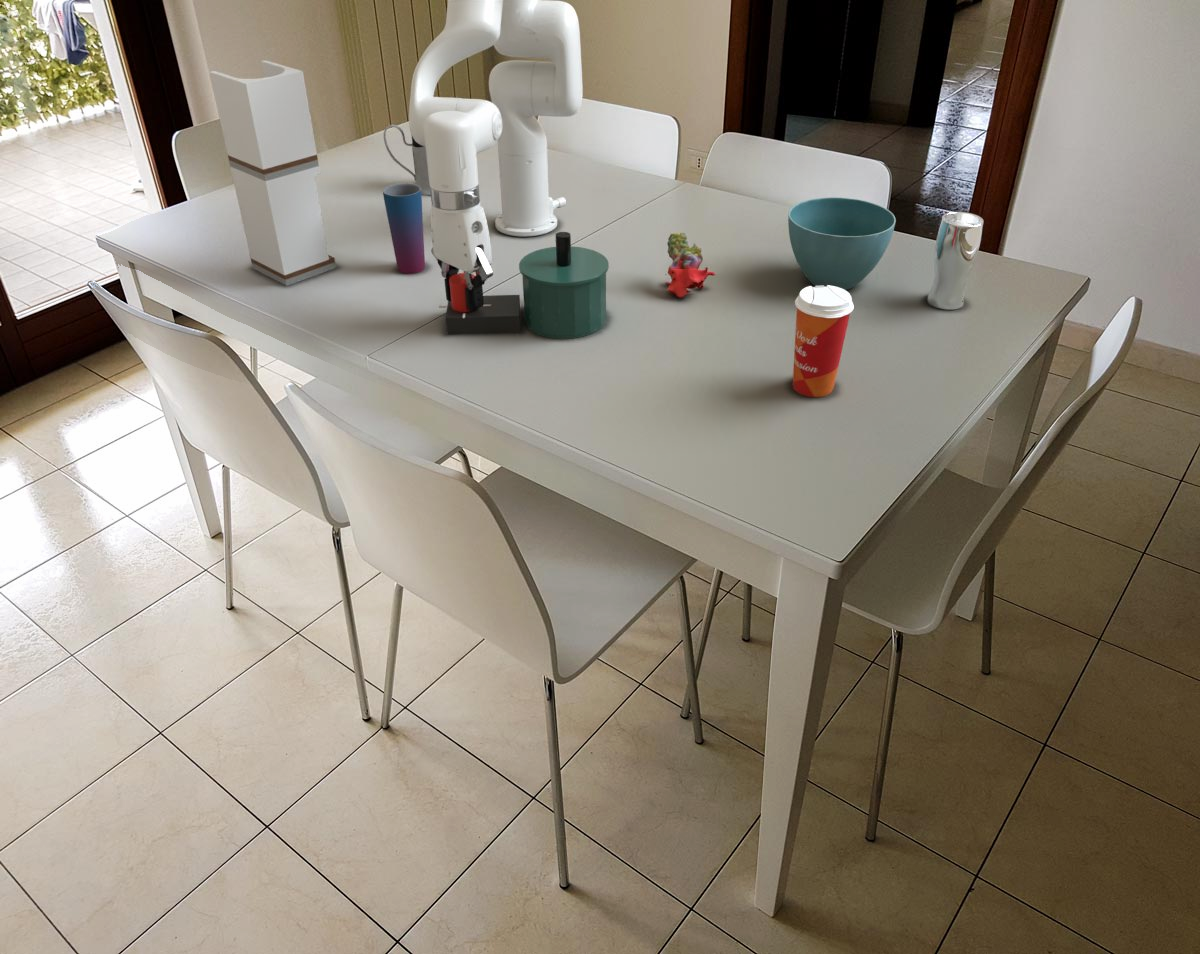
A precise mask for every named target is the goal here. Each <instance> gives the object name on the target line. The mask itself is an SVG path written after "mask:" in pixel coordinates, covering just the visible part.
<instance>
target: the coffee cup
mask: <svg viewBox="0 0 1200 954" xmlns="http://www.w3.org/2000/svg"><path fill="white" fill-rule="evenodd" d="M794 305H795V307H796V317H795V332H794V333H795V335H794V336H795V337H794V350H793V351H794V353H793V369H792V387H793V389H794V390H795V392H797V393H798V394H800V395H803V396H805V397H810V398H823V397H827V396H828V395H830V394H831V393H832V392H833V390H834V387H835V384H836V379H837V374H838V370H839V366H840V361H841V357H842V352H843V348H844V344H845V339H846V334H847V330H848V325H849V320H850V317H851V316H850V315H851V313H852V312H853V310H854V308H855V306H854V302H853V299H852V295H851V294H850V292H848V291H847V289H846V290H844V289H842V288H839V287H835V286H830V285H827V287H824V286H815V285H814V286H812V285H808V286H806V287H804V288H802V289H801V290H800V292H799V293H798V296H797V297H796V299H795V300H794Z"/></svg>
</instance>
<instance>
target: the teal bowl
mask: <svg viewBox="0 0 1200 954" xmlns="http://www.w3.org/2000/svg"><path fill="white" fill-rule="evenodd" d="M787 220H788V221H787V224H788V226H787V227H788V237H789V241H790V246H791V249H792V252H793V255H794V258H795V260H796V262H797V264H798V266H799V268H800V269H801V271H802V272H803V274H804V276H805V277H806V279H807V280H808V281H809V282H810V283H811V284H812V285H813V286H814V287H815V286H824V287H827V285H830V286H835V287H839V288H842V289H844V290H846V291H847V290H849V289H852V288H854V287H855V286H857V285H858V284H859V283H861V282H862V281H863V280H864V279H865V278H866V277H867V276H869V274H870V273H871V272H872V271H873V270H874V269H875V268H876V266H877V265H878V263H880V261H881V259H882V258H883V256H884V254H885V252H886V251H887V248H888V246H889V244H890V242H891V240H892V236H893V233H894V231H895V226H896V222H897V219H896V217H895V215H894V213H893V212H892V211H890V209H888V208H886V207H884V206H882V205H879V204H877V203H874V202H871V201H867V200H863V199H857V198H851V197H838V196H837V197H833V196H831V197H818V198H812V199H807V200H804V201H801V202H799V203H797V204H794V205H793V206H792V207H791V208H790V209H789V211H788V219H787Z"/></svg>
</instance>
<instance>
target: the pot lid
mask: <svg viewBox="0 0 1200 954" xmlns="http://www.w3.org/2000/svg"><path fill="white" fill-rule="evenodd" d="M571 239H572V238H571V233H570V232H568V231H558V232H556V233H555V246H550V247H545V248H540V249H537V250H534V251H532V252H529V253H528V254H526V255H524V256H523V257H522V258H521V259H520V261H519V264H518V270H519V272H520V274H521V276H522V275H523V276H524V277H525V278H527V279H528V280H531V281H533V282H536V283H540V284H544V285H551V286H573V285H580V284H585V283H589V282H592V281H595V280H597V279H599V278H601V277H602V276H603V275H605V274H606V275H607V272H608V271H609V266H610V265H609V260H608V258H607V257H606V256H605V255H604V254H602V253H600V252H598V251H596V250H593V249H590V248H586V247H580V246H572V240H571Z"/></svg>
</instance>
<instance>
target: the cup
mask: <svg viewBox="0 0 1200 954" xmlns="http://www.w3.org/2000/svg"><path fill="white" fill-rule="evenodd" d="M381 192H382V196H383V201H384V207H385V211H386V216H387V223H388V227H389V231H390V232H389V233H390V237H391V242H392V247H393V251H394V257H395V263H396V267H397V271H398V272H399V273H402V274H405V275H410V274H411V275H412V274H419V273H421V272H423V271H424V270H425V269H426V260H425V240H424V220H423V219H424V218H423V197H422V196H423V194H421V187H420V186H419V185H416V183H411V182H398V183H393V184H389V185H387V186H385V187H383V189H382V191H381Z"/></svg>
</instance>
